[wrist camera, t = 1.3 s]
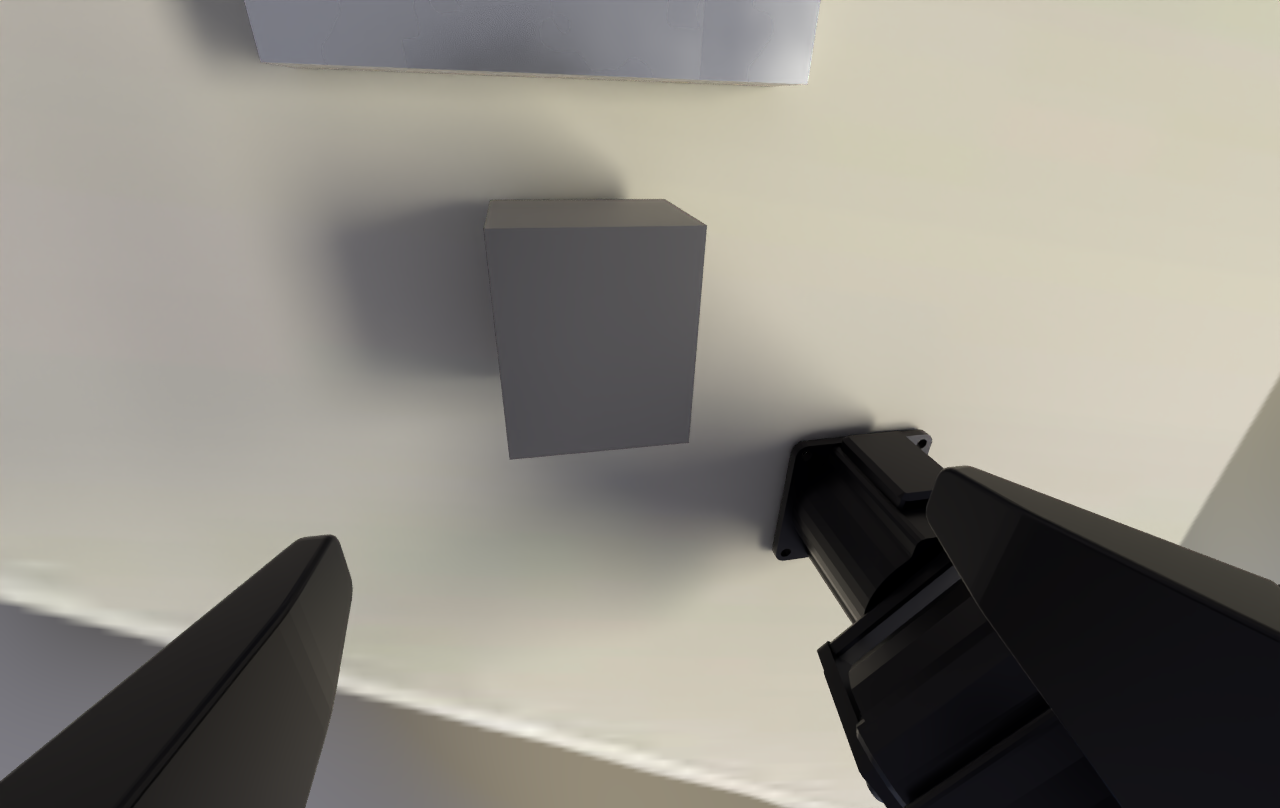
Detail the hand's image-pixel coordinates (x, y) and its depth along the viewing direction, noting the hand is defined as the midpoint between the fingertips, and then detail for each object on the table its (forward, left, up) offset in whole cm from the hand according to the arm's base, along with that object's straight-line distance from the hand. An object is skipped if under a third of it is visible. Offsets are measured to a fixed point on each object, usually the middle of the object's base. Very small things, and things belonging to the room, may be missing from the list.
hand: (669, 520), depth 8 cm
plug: (0, 0, -11) cm, 11 cm away
